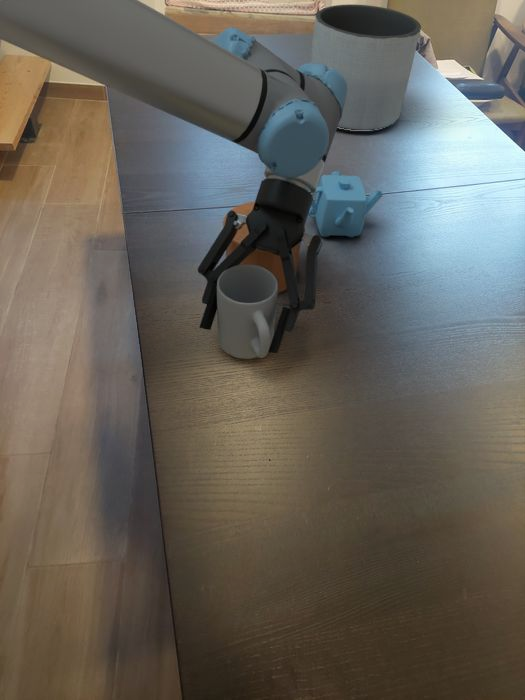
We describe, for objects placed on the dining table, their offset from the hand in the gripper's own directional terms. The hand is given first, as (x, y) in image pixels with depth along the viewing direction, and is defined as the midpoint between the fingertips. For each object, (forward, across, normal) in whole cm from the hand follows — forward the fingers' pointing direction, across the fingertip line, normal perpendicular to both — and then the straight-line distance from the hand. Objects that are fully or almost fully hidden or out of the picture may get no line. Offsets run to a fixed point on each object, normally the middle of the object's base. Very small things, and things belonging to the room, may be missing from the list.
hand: (238, 340), depth 72 cm
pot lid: (-18, +5, -12) cm, 22 cm away
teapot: (-25, -3, -33) cm, 42 cm away
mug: (+1, 0, -5) cm, 5 cm away
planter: (-62, +9, -70) cm, 94 cm away
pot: (-11, +5, -19) cm, 23 cm away
